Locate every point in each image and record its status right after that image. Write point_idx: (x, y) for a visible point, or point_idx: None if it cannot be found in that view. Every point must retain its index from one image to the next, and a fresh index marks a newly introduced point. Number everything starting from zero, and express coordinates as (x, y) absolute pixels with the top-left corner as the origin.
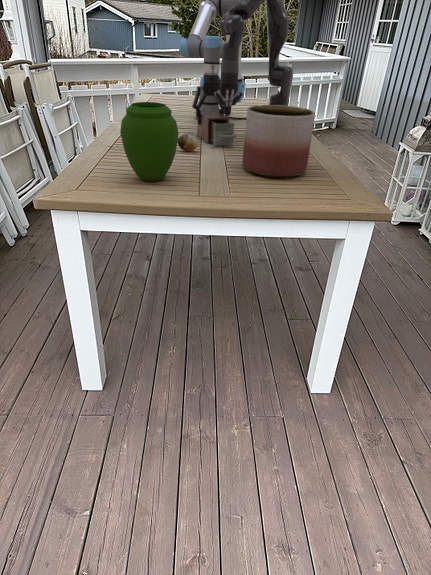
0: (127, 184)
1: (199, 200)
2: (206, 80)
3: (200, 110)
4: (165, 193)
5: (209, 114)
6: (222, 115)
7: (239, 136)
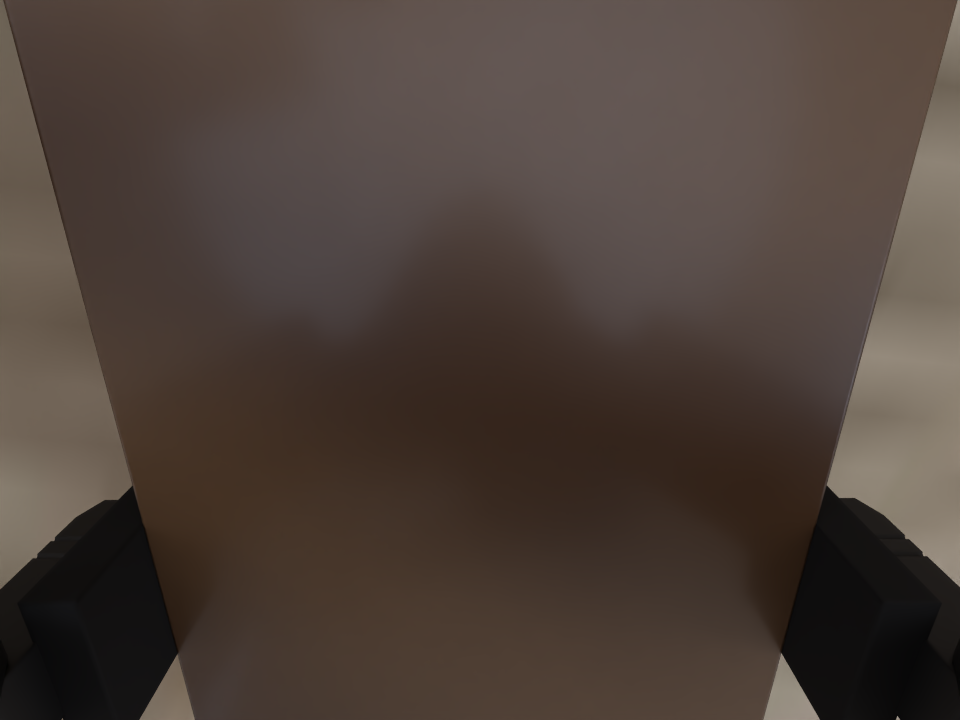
0: None
1: None
2: None
3: (893, 601)
4: None
5: (582, 397)
6: (128, 163)
7: (6, 334)
